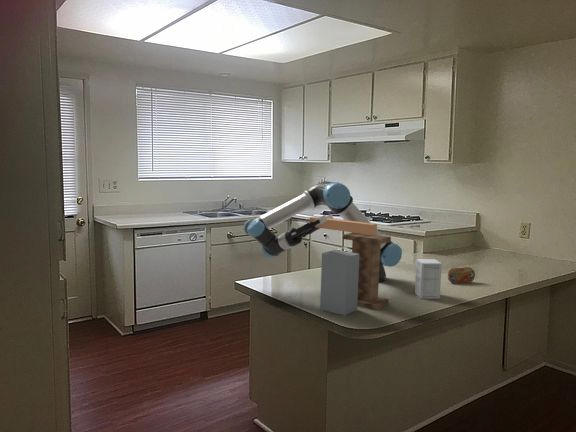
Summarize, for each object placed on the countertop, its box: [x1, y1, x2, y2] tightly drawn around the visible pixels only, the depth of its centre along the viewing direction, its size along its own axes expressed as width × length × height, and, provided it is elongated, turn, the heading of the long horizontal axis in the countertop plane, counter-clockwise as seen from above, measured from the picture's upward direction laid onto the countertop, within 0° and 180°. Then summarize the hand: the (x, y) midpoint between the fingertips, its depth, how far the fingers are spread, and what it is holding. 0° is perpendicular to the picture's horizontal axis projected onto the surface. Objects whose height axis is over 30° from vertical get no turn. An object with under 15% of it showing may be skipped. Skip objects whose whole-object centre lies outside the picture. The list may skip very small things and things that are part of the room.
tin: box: [447, 266, 476, 285], centre depth 252 cm, size 15×3×8 cm, turn 105°
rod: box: [308, 216, 378, 235], centre depth 199 cm, size 30×4×4 cm, turn 52°
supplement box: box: [414, 258, 443, 300], centre depth 225 cm, size 10×9×17 cm
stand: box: [342, 232, 392, 311], centre depth 212 cm, size 18×12×30 cm, turn 52°
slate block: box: [319, 249, 359, 316], centre depth 202 cm, size 12×10×24 cm
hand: (329, 217), depth 202 cm, fingers closed on rod, 4 cm apart
